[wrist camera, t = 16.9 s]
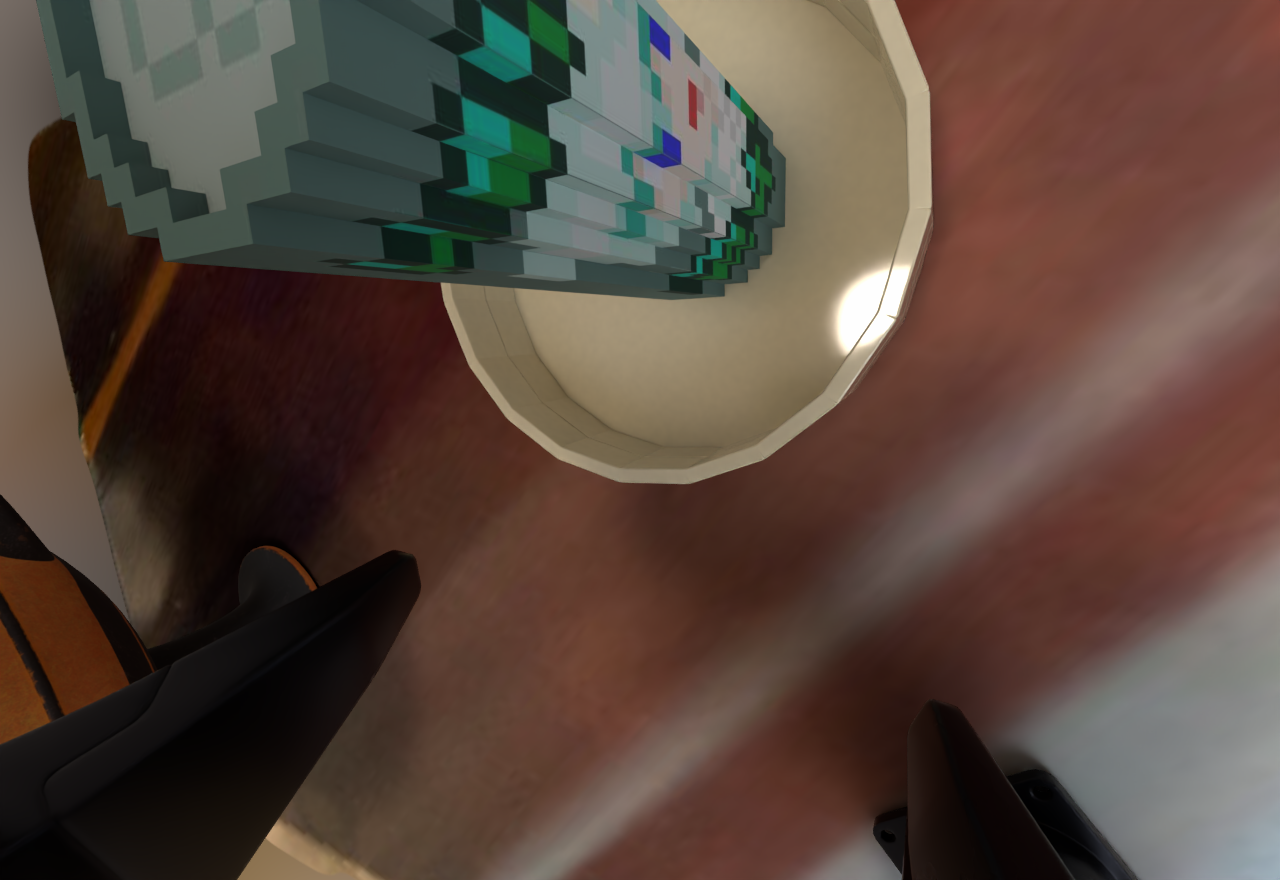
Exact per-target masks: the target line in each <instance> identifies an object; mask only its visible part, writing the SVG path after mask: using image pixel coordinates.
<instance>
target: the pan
mask: <svg viewBox="0 0 1280 880" xmlns="http://www.w3.org/2000/svg"><path fill="white" fill-rule="evenodd" d="M656 1H657V2H658V4H659V5H660V6H661V7H662V8H663V9H664V10H665V11H666V13H667V14H668V15H669V16H670V17H671V18H672V19H673V20H674V22H675V23H676V24H677V25H678V26H679V27H680V28H681V29H682V31H683V32H684V33H685V34H686V35H687V36H688V37H689V38H690V40H691V41H692V42H693V43H694V44H695V45H696V46H697V47H698V49H699V50H700V51H701V52H702V53H703V54H704V55H705V56H706V58H707V59H708V60H709V61H710V62H711V63H712V64H713V65H714V67H715V68H716V69H717V70H718V71H719V72H720V73H721V74H722V76H723V77H724V78H725V79H726V80H727V81H728V82H729V83H730V85H731V86H732V87H733V88H734V89H735V90H736V91H737V92H738V94H739V95H740V96H741V97H742V98H743V99H744V100H745V101H746V103H747V104H748V105H749V106H750V107H751V108H752V109H753V110H754V112H755V113H756V114H757V115H758V116H759V117H760V118H761V119H762V121H763V122H764V123H765V124H766V125H767V126H768V127H769V128H770V130H771V131H772V132H773V145H774V146H775V147H776V148H777V149H778V150H779V152H780V153H781V154H782V155H783V156H784V157H785V158H786V186H785V227H780V228H772V255H765V256H760V269H752V270H748V283H735V284H725V297H710V298H695V299H680V300H664V299H650V298H637V297H624V296H611V295H598V294H585V293H572V292H559V291H545V290H532V289H519V288H506V287H493V286H480V285H467V284H454V283H441V288H442V294H443V301H444V304H445V307H446V309H447V312H448V314H449V317H450V319H451V322H452V324H453V327H454V329H455V332H456V334H457V337H458V339H459V342H460V345H461V347H462V350H463V352H464V355H465V357H466V360H467V362H468V364H469V365H470V368H471V369H472V371H473V372H474V373H475V375H476V376H477V378H478V379H479V380H480V382H481V383H482V385H483V386H484V387H485V389H486V390H487V392H488V393H489V394H490V396H491V397H492V399H493V400H494V401H495V403H496V404H497V405H498V407H499V408H500V410H501V411H502V412H503V414H504V415H505V417H506V418H508V420H509V421H510V422H512V423H513V424H514V425H515V426H517V427H518V428H519V429H520V430H522V431H523V432H524V433H525V434H527V435H528V436H529V437H531V438H532V439H533V440H534V441H536V442H537V443H538V444H539V445H541V446H542V447H543V448H544V449H546V450H547V451H548V452H549V453H551V454H552V455H553V456H554V457H556V458H558V459H559V460H562V461H564V462H567V463H570V464H572V465H575V466H578V467H580V468H583V469H586V470H588V471H591V472H593V473H596V474H599V475H601V476H604V477H607V478H609V479H612V480H615V481H617V482H624V483H662V484H690V483H691V484H692V483H695V482H698V481H701V480H704V479H707V478H710V477H713V476H716V475H719V474H722V473H725V472H729V471H732V470H735V469H738V468H741V467H744V466H747V465H750V464H753V463H756V462H759V461H762V460H764V459H766V458H768V457H769V456H770V455H772V454H773V453H774V452H776V451H777V450H778V449H780V448H781V447H782V446H784V445H785V444H786V443H788V442H789V441H790V440H792V439H793V438H794V437H796V436H797V435H798V434H799V433H801V432H802V431H803V430H805V429H806V428H807V427H809V426H810V425H811V424H813V423H814V422H815V421H817V420H818V419H819V418H821V417H822V416H823V415H825V414H826V413H827V412H829V411H830V410H831V409H833V408H834V407H835V406H837V405H838V404H839V403H840V402H841V401H843V400H844V399H845V398H846V397H848V396H849V395H850V394H851V393H852V392H854V390H855V389H856V388H857V387H858V386H859V384H860V383H861V381H862V380H863V378H864V377H865V376H866V374H867V373H868V371H869V370H870V368H871V367H872V366H873V365H874V363H875V362H876V360H877V359H878V358H879V356H880V355H881V353H882V352H883V350H884V349H885V347H886V346H887V344H888V343H889V342H890V340H891V339H892V337H893V336H894V334H895V333H896V332H897V330H898V329H899V327H900V326H901V324H902V323H903V322H904V318H906V315H907V312H908V309H909V306H910V303H911V300H912V296H913V293H914V290H915V287H916V284H917V281H918V279H919V276H920V273H921V270H922V266H923V262H924V258H925V255H926V252H927V249H928V246H929V242H930V239H931V236H932V233H933V227H934V222H933V167H932V127H931V105H930V92H929V86H928V83H927V81H926V78H925V76H924V73H923V71H922V68H921V66H920V63H919V61H918V58H917V56H916V53H915V51H914V48H913V45H912V43H911V40H910V38H909V35H908V33H907V30H906V28H905V25H904V23H903V20H902V18H901V15H900V13H899V10H898V8H897V5H896V3H895V0H656Z"/></svg>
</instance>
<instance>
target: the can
mask: <svg viewBox="0 0 1280 880" xmlns="http://www.w3.org/2000/svg"><path fill="white" fill-rule="evenodd" d="M36 2H37V6H38V11H39V16H40V20H41V25H42V30H43V34H44V39H45V43H46V48H47V52H48V57H49V61H50V66H51V70H52V75H53V80H54V84H55V89H56V93H57V98H58V102H59V107H60V111H61V116H62V119H64V120H69V121H73V122H76V124H77V128H78V133H79V138H80V142H81V147H82V152H83V156H84V161H85V165H86V170H87V175H88V178H89V179H95V180H101V181H103V185H104V190H105V195H106V200H107V204H108V206H110V207H117V208H123V213H124V217H125V222H126V227H127V232H128V235H134V236H144V237H153V238H159V239H160V244H161V249H162V254H163V259H164V261H165V262H178V263H191V264H204V265H217V266H230V267H244V268H257V269H270V270H283V271H296V272H309V273H322V274H335V275H349V276H362V277H375V278H388V279H401V280H414V281H427V282H440V283H454V284H467V285H480V286H493V287H506V288H519V289H532V290H545V291H559V292H572V293H585V294H598V295H611V296H624V297H637V298H650V299H664V300H680V299H695V298H710V297H725V284H735V283H748V270H752V269H760V256H765V255H772V228H780V227H785V186H786V158H785V157H784V156H783V155H782V154H781V153H780V152H779V150H778V149H777V148H776V147H775V146H774V145H773V132H772V131H771V130H770V128H769V127H768V126H767V125H766V124H765V123H764V122H763V121H762V119H761V118H760V117H759V116H758V115H757V114H756V113H755V112H754V110H753V109H752V108H751V107H750V106H749V105H748V104H747V103H746V101H745V100H744V99H743V98H742V97H741V96H740V95H739V94H738V92H737V91H736V90H735V89H734V88H733V87H732V86H731V85H730V83H729V82H728V81H727V80H726V79H725V78H724V77H723V76H722V74H721V73H720V72H719V71H718V70H717V69H716V68H715V67H714V65H713V64H712V63H711V62H710V61H709V60H708V59H707V58H706V56H705V55H704V54H703V53H702V52H701V51H700V50H699V49H698V47H697V46H696V45H695V44H694V43H693V42H692V41H691V40H690V38H689V37H688V36H687V35H686V34H685V33H684V32H683V31H682V29H681V28H680V27H679V26H678V25H677V24H676V23H675V22H674V20H673V19H672V18H671V17H670V16H669V15H668V14H667V13H666V11H665V10H664V9H663V8H662V7H661V6H660V5H659V4H658V2H657V1H656V0H36Z"/></svg>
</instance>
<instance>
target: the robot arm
mask: <svg viewBox="0 0 1280 880" xmlns="http://www.w3.org/2000/svg"><path fill="white" fill-rule="evenodd" d="M420 590H421V581H420V576H419V571H418V566H417V561H416V558H415V557H414V556H413V555H412V554H409V553H405V552H402V551H398V550H392V551H389V552H387V553H385V554H383V555H381V556H379V557H377V558H375V559H373V560H371V561H369V562H367V563H366V564H364V565H362V566H360V567H358V568H356V569H354V570H352V571H350V572H348V573H346V574H344V575H342V576H340V577H338V578H336V579H334V580H333V581H331V582H329V583H327V584H325V585H323V586H321V587H319V588H317V589H315V590H313V591H311V592H309V593H307V594H305V595H303V596H301V597H300V598H298V599H296V600H294V601H292V602H290V603H288V604H286V605H284V606H282V607H280V608H278V609H276V610H274V611H272V612H270V613H268V614H267V615H265V616H263V617H261V618H259V619H257V620H255V621H253V622H251V623H249V624H247V625H245V626H243V627H241V628H239V629H237V630H235V631H233V632H232V633H230V634H228V635H226V636H224V637H222V638H220V639H218V640H216V641H214V642H212V643H210V644H208V645H206V646H204V647H202V648H200V649H199V650H197V651H195V652H193V653H191V654H189V655H187V656H185V657H183V658H181V659H179V660H177V661H175V662H174V663H173V664H172V666H171V665H167V666H165V667H163V668H161V669H159V670H157V671H155V672H154V673H152V674H150V675H148V676H146V677H144V678H142V679H140V680H138V681H136V682H134V683H132V684H130V685H128V686H126V687H124V688H122V689H120V690H118V691H116V692H114V693H112V694H110V695H108V696H106V697H104V698H102V699H100V700H97V701H95V702H93V703H91V704H89V705H87V706H84V707H82V708H80V709H78V710H76V711H74V712H71V713H69V714H67V715H65V716H63V717H61V718H58V719H56V720H54V721H52V722H50V723H47V724H45V725H43V726H41V727H38V728H36V729H34V730H32V731H30V732H27V733H25V734H23V735H21V736H18V737H16V738H14V739H12V740H9V741H7V742H5V743H3V744H0V880H237V879H238V877H239V876H240V875H241V873H242V872H243V870H244V868H245V867H246V866H247V864H248V863H249V861H250V860H251V858H252V857H253V855H254V854H255V852H256V851H257V849H258V848H259V846H260V845H261V844H262V842H263V840H264V839H265V838H266V836H267V835H268V833H269V832H270V830H271V829H272V827H273V826H274V824H275V823H276V821H277V820H278V818H279V817H280V816H281V814H282V813H283V811H284V810H285V808H286V807H287V805H288V804H289V802H290V801H291V799H292V798H293V796H294V795H295V793H296V792H297V790H298V789H299V787H300V786H301V785H302V783H303V782H304V780H305V779H306V777H307V776H308V774H309V773H310V771H311V770H312V768H313V767H314V765H315V764H316V762H317V761H318V759H319V758H320V757H321V755H322V754H323V752H324V751H325V749H326V748H327V746H328V745H329V743H330V742H331V740H332V739H333V737H334V736H335V734H336V733H337V731H338V730H339V728H340V727H341V726H342V724H343V723H344V721H345V720H346V718H347V717H348V715H349V714H350V712H351V711H352V709H353V708H354V706H355V705H356V703H357V702H358V700H359V699H360V697H361V696H362V695H363V693H364V692H365V690H366V689H367V687H368V686H369V684H370V683H371V681H372V680H373V678H374V676H375V675H376V673H377V672H378V670H379V668H380V667H381V665H382V663H383V661H384V660H385V658H386V656H387V654H388V652H389V650H390V649H391V647H392V645H393V643H394V641H395V639H396V638H397V636H398V634H399V632H400V630H401V628H402V626H403V625H404V623H405V621H406V619H407V617H408V615H409V614H410V612H411V610H412V608H413V606H414V604H415V602H416V601H417V599H418V597H419V594H420ZM907 786H908V807H905V808H902V809H898V810H895V811H892V812H888V813H885V814H882V815H879V816H877V817H876V818H875V821H874V827H873V834H874V836H875V838H876V840H877V841H878V843H879V844H880V845H881V847H882V848H883V849H884V851H885V852H886V854H887V855H888V856H889V858H890V859H891V860H892V862H893V863H894V864H895V866H896V867H897V868H898V870H899V871H900V872H901V874H902V880H1138V879H1137V878H1136V877H1135V876H1134V875H1133V873H1132V872H1131V871H1130V870H1129V868H1128V867H1127V866H1126V865H1125V863H1124V862H1123V861H1122V860H1121V859H1120V857H1119V856H1118V855H1117V854H1116V852H1115V851H1114V850H1113V849H1112V847H1111V846H1110V845H1109V844H1108V843H1107V841H1106V840H1105V839H1104V838H1103V836H1102V835H1101V834H1100V833H1099V831H1098V830H1097V829H1096V828H1095V827H1094V825H1093V824H1092V823H1091V822H1090V820H1089V819H1088V818H1087V817H1086V815H1085V814H1084V813H1083V812H1082V811H1081V809H1080V808H1079V807H1078V806H1077V804H1076V803H1075V802H1074V801H1073V799H1072V798H1071V797H1070V796H1069V795H1068V793H1067V792H1066V791H1065V790H1064V788H1063V787H1062V786H1061V785H1060V783H1059V782H1058V781H1057V780H1056V779H1055V778H1054V777H1053V776H1052V775H1051V774H1049V773H1047V772H1045V771H1042V770H1037V769H1034V770H1027V771H1024V772H1021V773H1018V774H1014V775H1011V776H1008V777H1005V775H1004V774H1003V772H1002V771H1001V769H1000V768H999V766H998V765H997V763H996V762H995V760H994V759H993V757H992V756H991V754H990V753H989V751H988V750H987V748H986V747H985V745H984V744H983V742H982V741H981V739H980V738H979V736H978V735H977V733H976V732H975V730H974V729H973V727H972V726H971V724H970V723H969V722H968V720H967V719H966V717H965V716H964V714H963V713H962V711H961V710H960V709H959V708H958V707H956V706H954V705H952V704H949V703H945V702H942V701H938V700H934V699H930V700H928V701H926V702H925V704H924V705H923V707H922V708H921V710H920V711H919V713H918V714H917V716H916V717H915V719H914V720H913V722H912V724H911V725H910V727H909V730H908V736H907ZM1035 786H1043V787H1046V788H1048V789H1049V790H1047V791H1038V790H1036V789H1035V788H1034V787H1035ZM884 830H889V831H891V832H892V833H893V834H889V833H887V832H885V831H884Z"/></svg>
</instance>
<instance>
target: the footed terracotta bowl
mask: <svg viewBox="0 0 1280 880" xmlns="http://www.w3.org/2000/svg"><path fill="white" fill-rule="evenodd" d="M315 589H317V587H316V585H315V583H314V582H313V580H312V579H311V577H310V576H309V574H308V573H307V572H306V570H305V569H304V568H303V567H302V566H301V565H300V563H299V562H298V561H297V560H295V559H294V558H293V557H292V556H291V555H289V554H288V553H287V552H285V551H283V550H281V549H280V548H277V547H274V546H262V547H258V548H256V549H253V550H252V551H250V552H249V553H248V554H247V555H246V556H245V558H244V560H243V561H242V564H241V567H240V571H239V578H238V593H239V601H240V605H239V606H238V607H237V608H236V609H234V610H233V611H231V612H230V613H228V614H227V615H225V616H224V617H222V618H220V619H218V620H217V621H215V622H213V623H211V624H209V625H207V626H205V627H203V628H201V629H199V630H197V631H195V632H193V633H191V634H188V635H186V636H184V637H181V638H179V639H176V640H174V641H171V642H168V643H166V644H163V645H160V646H157V647H153V648H150V649H146V647H145V645H144V643H143V642H142V640H141V639H140V637H139V635H138V634H137V632H136V631H135V630H134V628H133V627H132V625H131V624H130V623H129V621H128V620H127V619H126V617H125V616H124V615H123V613H122V612H121V611H120V610H119V609H118V607H117V606H116V605H115V604H114V603H113V602H112V601H111V600H110V599H109V598H108V597H107V596H106V594H105V593H104V592H103V591H102V590H100V589H99V588H98V587H97V586H96V585H95V584H94V583H93V582H91V581H90V580H89V579H88V578H87V577H85V575H83V574H82V573H81V572H79V571H78V570H76V569H75V568H74V567H73V566H71V565H70V564H69V563H67V562H66V561H64V560H63V559H61V558H60V557H58V556H57V555H55V554H53V553H52V552H50V551H49V550H48V549H47V548H46V547H45V545H44V544H43V543H42V542H41V540H40V539H39V538H38V537H37V536H36V534H35V533H34V532H33V531H32V530H31V528H30V527H29V526H28V525H27V524H26V522H25V521H24V520H23V519H22V518H21V517H20V515H19V514H18V513H17V512H16V511H15V510H14V509H13V508H12V506H11V505H10V504H9V503H8V502H7V501H6V500H5V499H4V498H3V496H2V495H0V744H3V743H5V742H7V741H9V740H12V739H14V738H16V737H18V736H21V735H23V734H25V733H27V732H30V731H32V730H34V729H36V728H38V727H41V726H43V725H45V724H47V723H50V722H52V721H54V720H56V719H58V718H61V717H63V716H65V715H67V714H69V713H71V712H74V711H76V710H78V709H80V708H82V707H84V706H87V705H89V704H91V703H93V702H95V701H97V700H100V699H102V698H104V697H106V696H108V695H110V694H112V693H114V692H116V691H118V690H120V689H122V688H124V687H126V686H128V685H130V684H132V683H134V682H136V681H138V680H140V679H142V678H144V677H146V676H148V675H150V674H152V673H154V672H155V671H157V670H159V669H161V668H163V667H165V666H167V665H171V666H172V664H173V663H174V662H175V661H177V660H179V659H181V658H183V657H185V656H187V655H189V654H191V653H193V652H195V651H197V650H199V649H200V648H202V647H204V646H206V645H208V644H210V643H212V642H214V641H216V640H218V639H220V638H222V637H224V636H226V635H228V634H230V633H232V632H233V631H235V630H237V629H239V628H241V627H243V626H245V625H247V624H249V623H251V622H253V621H255V620H257V619H259V618H261V617H263V616H265V615H267V614H268V613H270V612H272V611H274V610H276V609H278V608H280V607H282V606H284V605H286V604H288V603H290V602H292V601H294V600H296V599H298V598H300V597H301V596H303V595H305V594H307V593H309V592H311V591H313V590H315Z"/></svg>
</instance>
